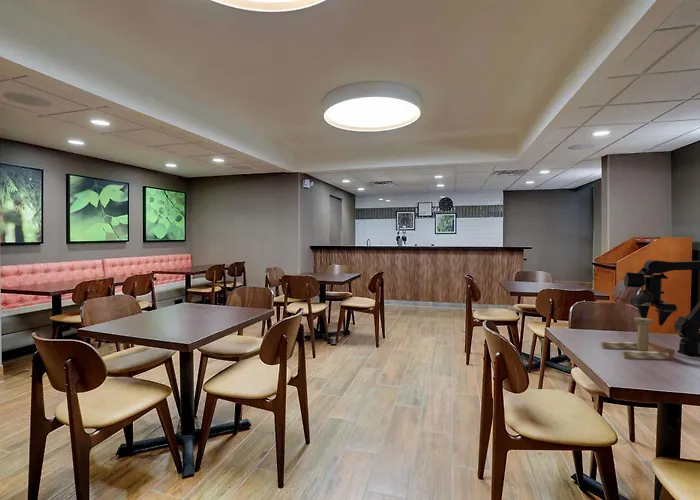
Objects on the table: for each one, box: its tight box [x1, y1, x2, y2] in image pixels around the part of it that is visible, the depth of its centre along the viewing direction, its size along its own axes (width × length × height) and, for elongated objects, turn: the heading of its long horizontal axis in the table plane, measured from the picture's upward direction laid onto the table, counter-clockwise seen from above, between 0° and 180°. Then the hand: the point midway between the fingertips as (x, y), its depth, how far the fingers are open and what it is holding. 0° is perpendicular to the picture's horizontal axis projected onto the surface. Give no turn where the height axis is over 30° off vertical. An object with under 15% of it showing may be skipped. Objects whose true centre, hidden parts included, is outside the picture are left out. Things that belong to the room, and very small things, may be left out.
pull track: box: [599, 340, 676, 360], centre depth 159 cm, size 20×16×4 cm
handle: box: [633, 317, 654, 351], centre depth 159 cm, size 5×6×15 cm
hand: (651, 323), depth 162 cm, fingers open, 9 cm apart
